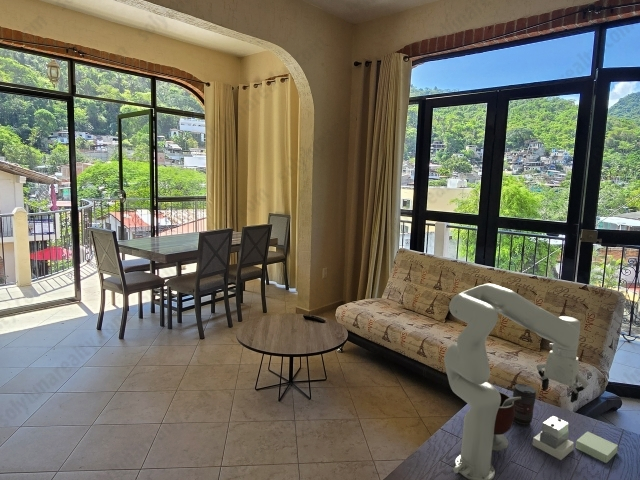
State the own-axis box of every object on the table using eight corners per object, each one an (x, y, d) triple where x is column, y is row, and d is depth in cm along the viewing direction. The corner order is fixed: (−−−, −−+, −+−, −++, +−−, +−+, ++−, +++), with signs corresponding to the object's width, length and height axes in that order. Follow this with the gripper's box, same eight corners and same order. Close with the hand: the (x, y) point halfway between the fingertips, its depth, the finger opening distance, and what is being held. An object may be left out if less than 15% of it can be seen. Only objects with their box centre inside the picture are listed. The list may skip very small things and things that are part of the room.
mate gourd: (468, 444, 152) (473, 394, 149) (473, 424, 164) (478, 378, 161) (514, 458, 145) (520, 406, 142) (516, 437, 157) (521, 388, 154)
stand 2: (606, 463, 144) (607, 455, 143) (575, 447, 152) (576, 440, 151) (616, 452, 150) (617, 445, 149) (586, 438, 158) (587, 431, 157)
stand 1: (560, 460, 145) (562, 452, 144) (532, 445, 152) (533, 437, 152) (573, 449, 150) (574, 442, 150) (545, 435, 158) (546, 428, 158)
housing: (555, 449, 146) (557, 430, 145) (539, 441, 150) (541, 422, 149) (567, 439, 152) (570, 421, 151) (552, 431, 156) (554, 414, 155)
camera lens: (535, 428, 163) (540, 393, 161) (515, 427, 163) (519, 392, 161) (526, 417, 171) (530, 383, 169) (506, 416, 171) (510, 382, 169)
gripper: (535, 345, 151) (529, 388, 153) (587, 362, 137) (580, 409, 140) (544, 340, 155) (539, 382, 158) (595, 357, 142) (589, 402, 145)
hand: (558, 395), depth 149 cm, fingers open, 9 cm apart
